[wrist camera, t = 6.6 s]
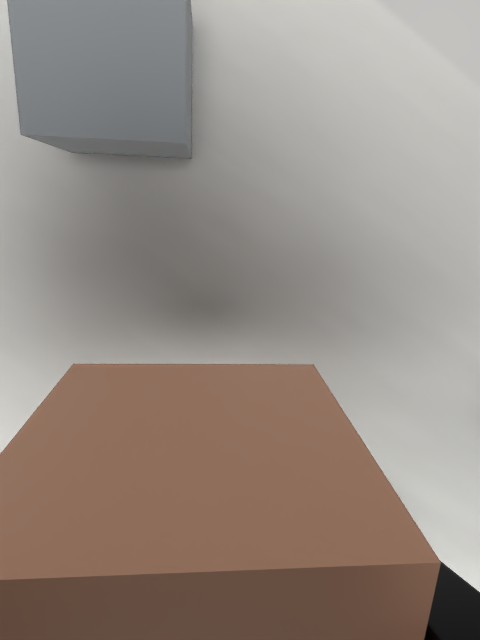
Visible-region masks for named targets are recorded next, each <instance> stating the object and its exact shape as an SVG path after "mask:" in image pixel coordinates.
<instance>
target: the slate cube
mask: <svg viewBox="0 0 480 640" xmlns="http://www.w3.org/2000/svg"><path fill="white" fill-rule="evenodd" d="M7 3H8V13H9V23H10V33H11V43H12V53H13V63H14V73H15V83H16V93H17V103H18V113H19V123H20V133H21V135H24V136H26V137H29V138H32V139H35V140H38V141H41V142H44V143H46V144H49V145H52V146H55V147H58V148H61V149H63V150H66V151H69V152H74V153H94V154H113V155H133V156H153V157H172V158H191V154H192V13H191V1H190V0H7Z"/></svg>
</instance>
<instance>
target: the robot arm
mask: <svg viewBox="0 0 480 640" xmlns="http://www.w3.org/2000/svg"><path fill="white" fill-rule="evenodd" d="M440 562H441V561H440ZM424 640H480V592H479V591H477V590H476V589H475V588H474V587H472V586H471V585H470V584H469V583H467V582H466V581H465V580H464V579H462V578H461V577H460V576H459V575H457V574H456V573H455V572H454V571H452V570H451V569H450V568H449V567H447V566H446V565H445V564H444V563H442V562H441V565H440V569H439V574H438V578H437V583H436V587H435V592H434V597H433V601H432V606H431V610H430V615H429V619H428V624H427V629H426V633H425V638H424Z"/></svg>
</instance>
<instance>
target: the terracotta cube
mask: <svg viewBox="0 0 480 640" xmlns="http://www.w3.org/2000/svg"><path fill="white" fill-rule="evenodd" d="M440 565H441V562H440V560H439V559H438V557H437V556H436V554H435V552H434V551H433V549H432V548H431V546H430V545H429V543H428V542H427V540H426V538H425V537H424V535H423V534H422V532H421V531H420V529H419V528H418V526H417V525H416V523H415V521H414V520H413V518H412V517H411V515H410V514H409V512H408V511H407V509H406V507H405V506H404V504H403V503H402V501H401V500H400V498H399V497H398V495H397V493H396V492H395V490H394V489H393V487H392V486H391V484H390V483H389V481H388V480H387V478H386V476H385V475H384V473H383V472H382V470H381V469H380V467H379V466H378V464H377V462H376V461H375V459H374V458H373V456H372V455H371V453H370V452H369V450H368V448H367V447H366V445H365V444H364V442H363V441H362V439H361V438H360V436H359V435H358V433H357V431H356V430H355V428H354V427H353V425H352V424H351V422H350V421H349V419H348V417H347V416H346V414H345V413H344V411H343V410H342V408H341V407H340V405H339V403H338V402H337V400H336V399H335V397H334V396H333V394H332V393H331V391H330V390H329V388H328V386H327V385H326V383H325V382H324V380H323V379H322V377H321V376H320V374H319V372H318V371H317V369H316V368H315V366H314V365H276V364H73V365H72V366H71V367H70V369H69V370H68V371H67V372H66V374H65V375H64V376H63V377H62V378H61V380H60V381H59V382H58V383H57V385H56V386H55V387H54V388H53V390H52V391H51V392H50V393H49V395H48V396H47V397H46V398H45V399H44V401H43V402H42V403H41V404H40V406H39V407H38V408H37V409H36V411H35V412H34V413H33V414H32V416H31V417H30V418H29V419H28V420H27V422H26V423H25V424H24V425H23V427H22V428H21V429H20V430H19V432H18V433H17V434H16V435H15V437H14V438H13V439H12V440H11V441H10V443H9V444H8V445H7V446H6V448H5V449H4V450H3V451H2V453H1V454H0V640H424V638H425V633H426V629H427V624H428V619H429V615H430V610H431V606H432V601H433V597H434V592H435V587H436V583H437V578H438V574H439V569H440Z"/></svg>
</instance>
